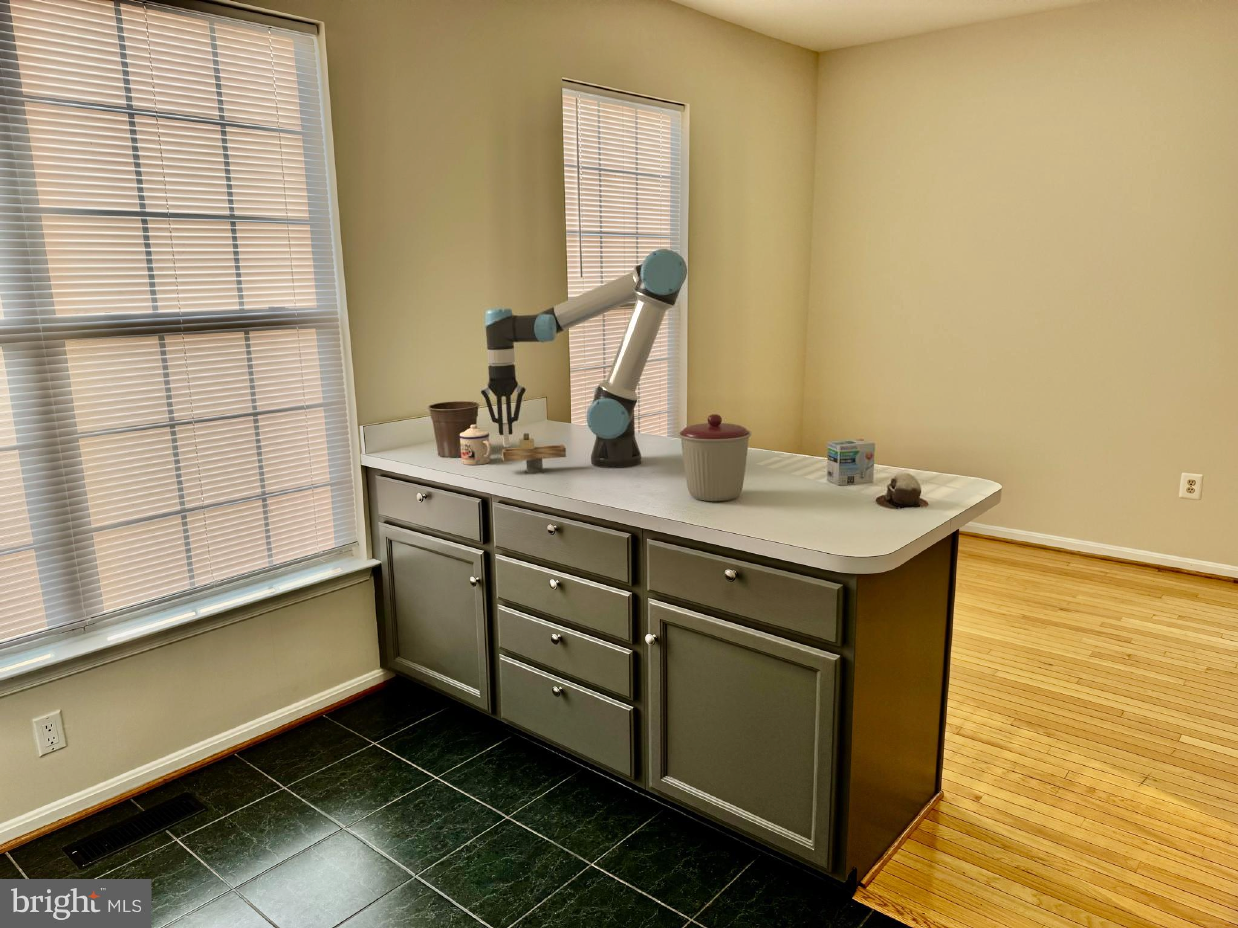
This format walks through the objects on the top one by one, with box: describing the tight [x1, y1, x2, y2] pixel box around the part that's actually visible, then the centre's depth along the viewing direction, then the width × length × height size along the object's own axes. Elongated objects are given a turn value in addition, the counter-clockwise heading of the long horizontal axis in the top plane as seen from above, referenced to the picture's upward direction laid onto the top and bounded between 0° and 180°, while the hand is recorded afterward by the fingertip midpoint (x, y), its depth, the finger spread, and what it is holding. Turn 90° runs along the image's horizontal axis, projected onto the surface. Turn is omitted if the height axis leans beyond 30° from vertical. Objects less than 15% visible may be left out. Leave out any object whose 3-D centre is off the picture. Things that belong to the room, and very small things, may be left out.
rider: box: [518, 432, 535, 451], centre depth 255 cm, size 4×3×6 cm
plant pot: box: [427, 400, 480, 459], centre depth 283 cm, size 16×16×16 cm
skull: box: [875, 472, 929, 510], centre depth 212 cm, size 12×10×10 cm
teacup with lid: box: [459, 425, 492, 466], centre depth 269 cm, size 12×9×12 cm
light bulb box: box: [826, 438, 876, 486], centre depth 233 cm, size 11×7×11 cm, turn 105°
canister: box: [677, 413, 752, 502], centre depth 220 cm, size 18×18×21 cm
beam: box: [501, 444, 567, 474], centre depth 256 cm, size 18×6×7 cm, turn 103°
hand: (506, 445), depth 254 cm, fingers closed
